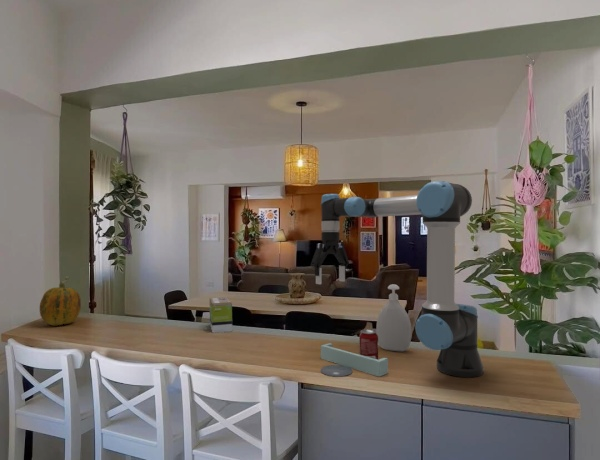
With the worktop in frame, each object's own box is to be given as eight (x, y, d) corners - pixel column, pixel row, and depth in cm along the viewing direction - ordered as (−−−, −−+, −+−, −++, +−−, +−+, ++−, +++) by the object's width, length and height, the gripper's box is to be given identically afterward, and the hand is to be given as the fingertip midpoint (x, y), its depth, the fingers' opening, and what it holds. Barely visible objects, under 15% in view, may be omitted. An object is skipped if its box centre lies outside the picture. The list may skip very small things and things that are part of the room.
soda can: (378, 367, 144) (377, 333, 144) (359, 366, 146) (358, 333, 146) (378, 361, 151) (378, 329, 151) (360, 360, 152) (359, 328, 152)
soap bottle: (414, 349, 167) (413, 283, 167) (409, 354, 160) (409, 286, 160) (379, 344, 174) (379, 282, 174) (374, 349, 166) (373, 284, 167)
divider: (387, 373, 138) (387, 358, 138) (379, 376, 135) (379, 361, 135) (329, 355, 158) (329, 343, 158) (320, 358, 155) (320, 345, 155)
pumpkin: (76, 319, 227) (76, 274, 227) (84, 325, 212) (84, 277, 213) (37, 324, 215) (37, 277, 215) (42, 330, 200) (42, 280, 201)
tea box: (209, 326, 209) (209, 297, 209) (228, 325, 212) (228, 296, 212) (211, 333, 195) (211, 302, 195) (232, 331, 198) (232, 301, 198)
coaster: (358, 371, 140) (358, 370, 140) (337, 379, 133) (337, 378, 133) (335, 364, 148) (335, 362, 148) (314, 371, 141) (314, 369, 141)
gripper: (344, 231, 179) (344, 279, 179) (301, 231, 163) (302, 284, 162) (357, 231, 173) (357, 281, 173) (314, 231, 157) (314, 286, 157)
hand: (330, 282), depth 168 cm, fingers open, 13 cm apart
